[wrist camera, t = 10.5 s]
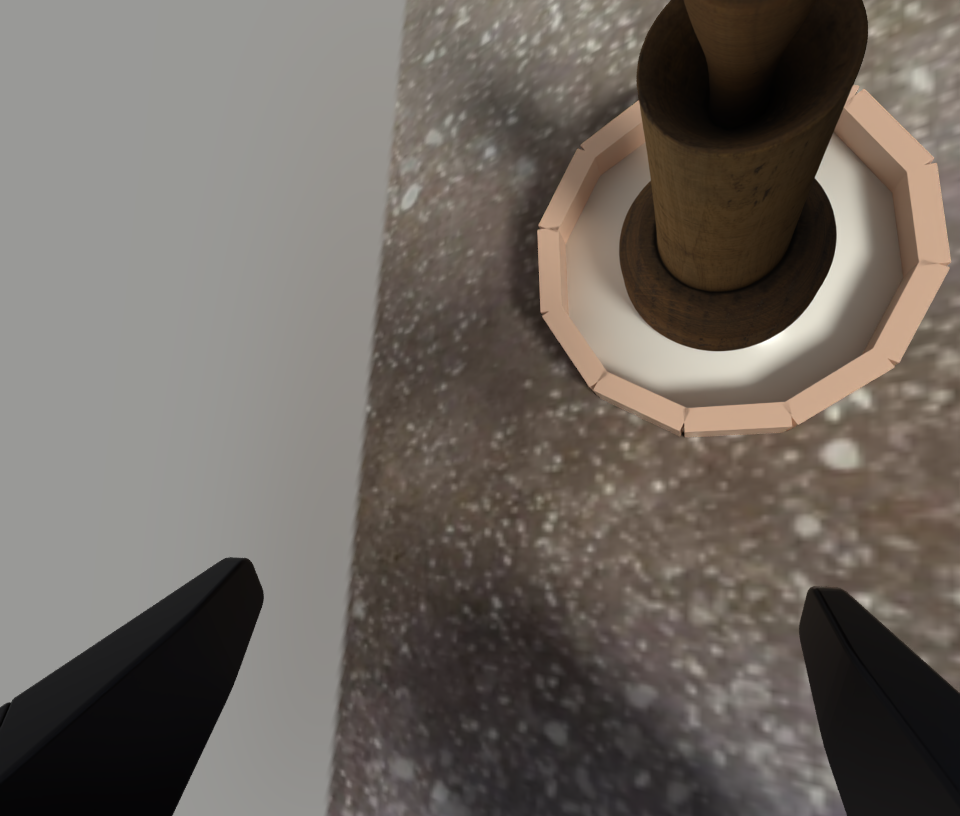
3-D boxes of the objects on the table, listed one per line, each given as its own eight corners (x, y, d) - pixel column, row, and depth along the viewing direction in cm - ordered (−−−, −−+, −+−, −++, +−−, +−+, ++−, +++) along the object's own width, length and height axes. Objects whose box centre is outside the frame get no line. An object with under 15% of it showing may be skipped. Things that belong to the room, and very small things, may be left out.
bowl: (1010, 296, 19) (1050, 273, 17) (668, 501, 22) (667, 502, 19) (764, 42, 23) (772, -3, 20) (495, 244, 25) (478, 222, 23)
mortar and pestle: (614, 346, 22) (375, -110, 5) (634, 181, 23) (473, -704, 6) (815, 358, 20) (1526, -381, 3) (831, 174, 20) (1500, -1315, 4)
